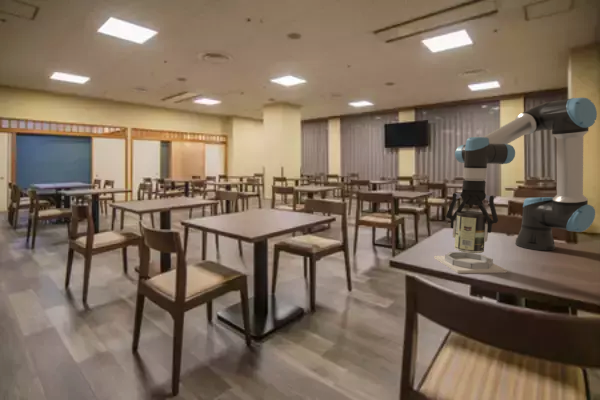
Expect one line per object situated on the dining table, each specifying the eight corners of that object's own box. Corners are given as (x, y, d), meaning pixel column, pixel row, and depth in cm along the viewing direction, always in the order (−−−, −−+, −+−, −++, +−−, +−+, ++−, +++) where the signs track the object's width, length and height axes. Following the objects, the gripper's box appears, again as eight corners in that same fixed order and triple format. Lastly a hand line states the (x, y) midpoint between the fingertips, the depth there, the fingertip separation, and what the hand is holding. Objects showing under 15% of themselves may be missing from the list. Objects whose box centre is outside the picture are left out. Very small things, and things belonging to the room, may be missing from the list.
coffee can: (479, 247, 134) (482, 211, 132) (488, 254, 124) (491, 215, 122) (451, 245, 136) (453, 210, 134) (457, 252, 126) (460, 214, 124)
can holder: (477, 257, 140) (477, 250, 140) (506, 272, 123) (506, 264, 122) (434, 258, 139) (434, 251, 139) (457, 273, 121) (458, 264, 121)
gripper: (510, 180, 123) (505, 241, 126) (444, 177, 136) (440, 233, 139) (508, 181, 117) (503, 245, 120) (439, 178, 130) (435, 236, 133)
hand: (469, 238), depth 130 cm, fingers closed on coffee can, 10 cm apart
